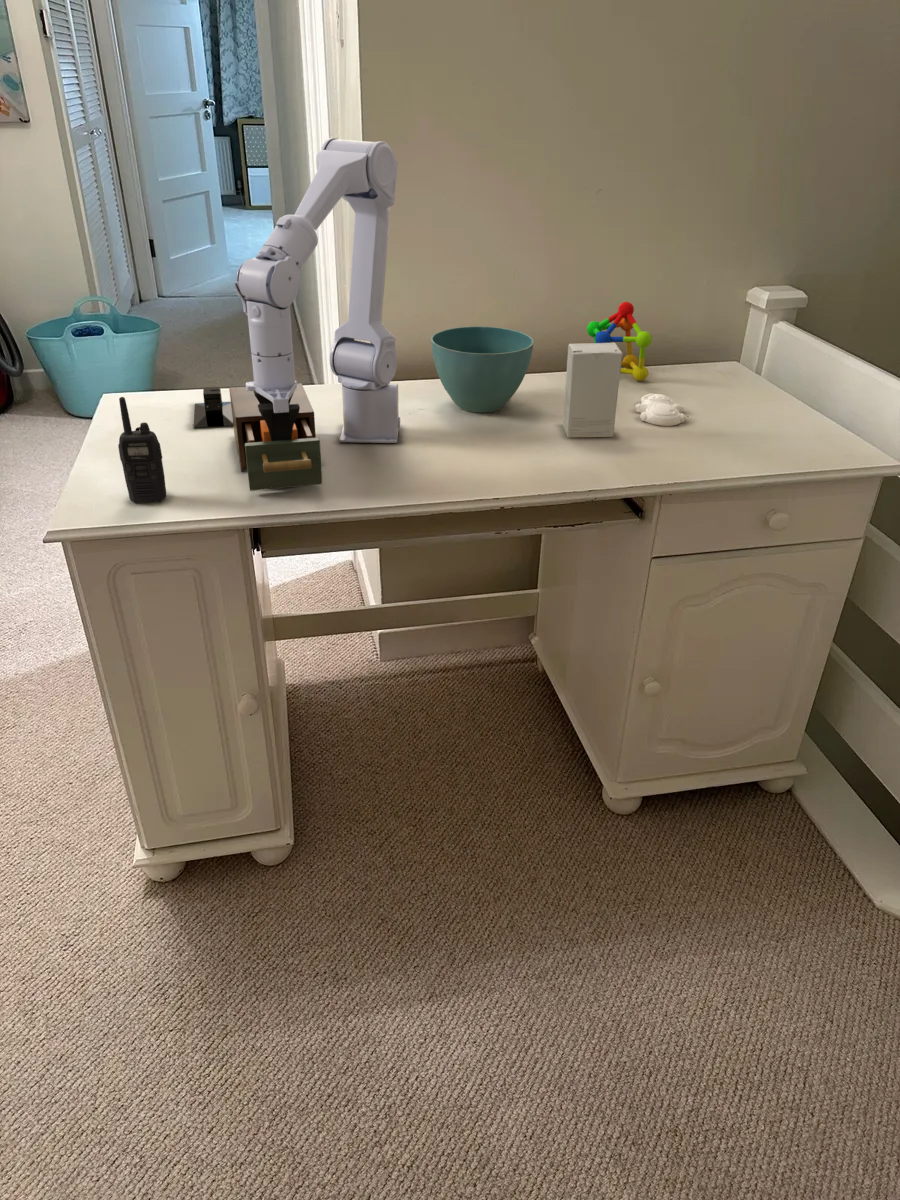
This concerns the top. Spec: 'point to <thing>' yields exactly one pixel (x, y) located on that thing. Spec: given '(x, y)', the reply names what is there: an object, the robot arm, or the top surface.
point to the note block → (266, 434)
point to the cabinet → (248, 411)
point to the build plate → (212, 411)
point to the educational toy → (624, 339)
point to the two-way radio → (141, 461)
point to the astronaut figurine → (660, 410)
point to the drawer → (282, 458)
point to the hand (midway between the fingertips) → (279, 444)
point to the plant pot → (481, 365)
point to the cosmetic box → (591, 389)
